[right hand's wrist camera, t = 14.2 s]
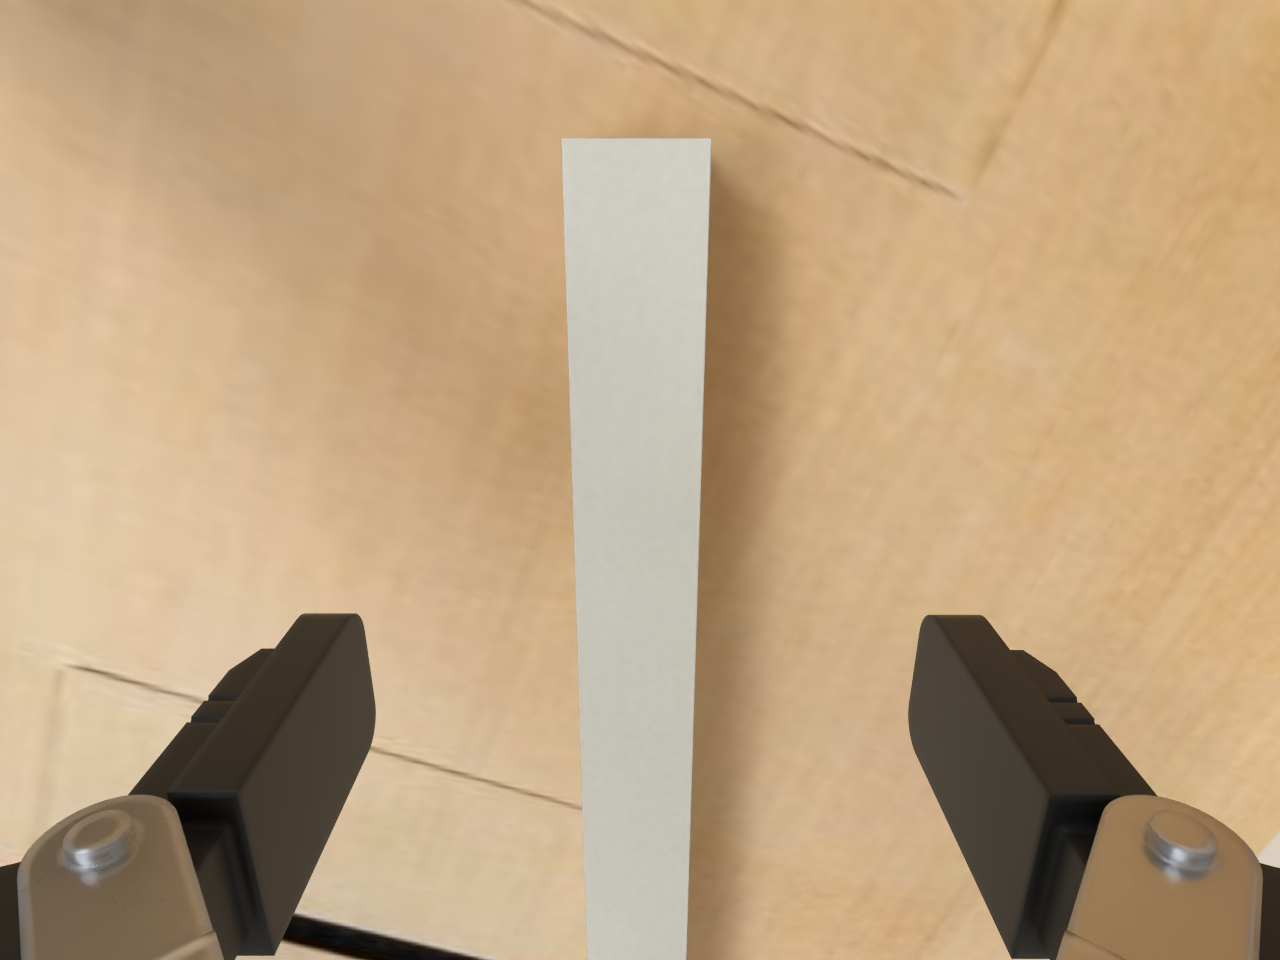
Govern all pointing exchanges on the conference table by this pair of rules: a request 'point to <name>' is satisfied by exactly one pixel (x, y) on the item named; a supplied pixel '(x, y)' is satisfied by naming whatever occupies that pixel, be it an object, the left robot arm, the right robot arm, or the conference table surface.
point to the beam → (636, 520)
